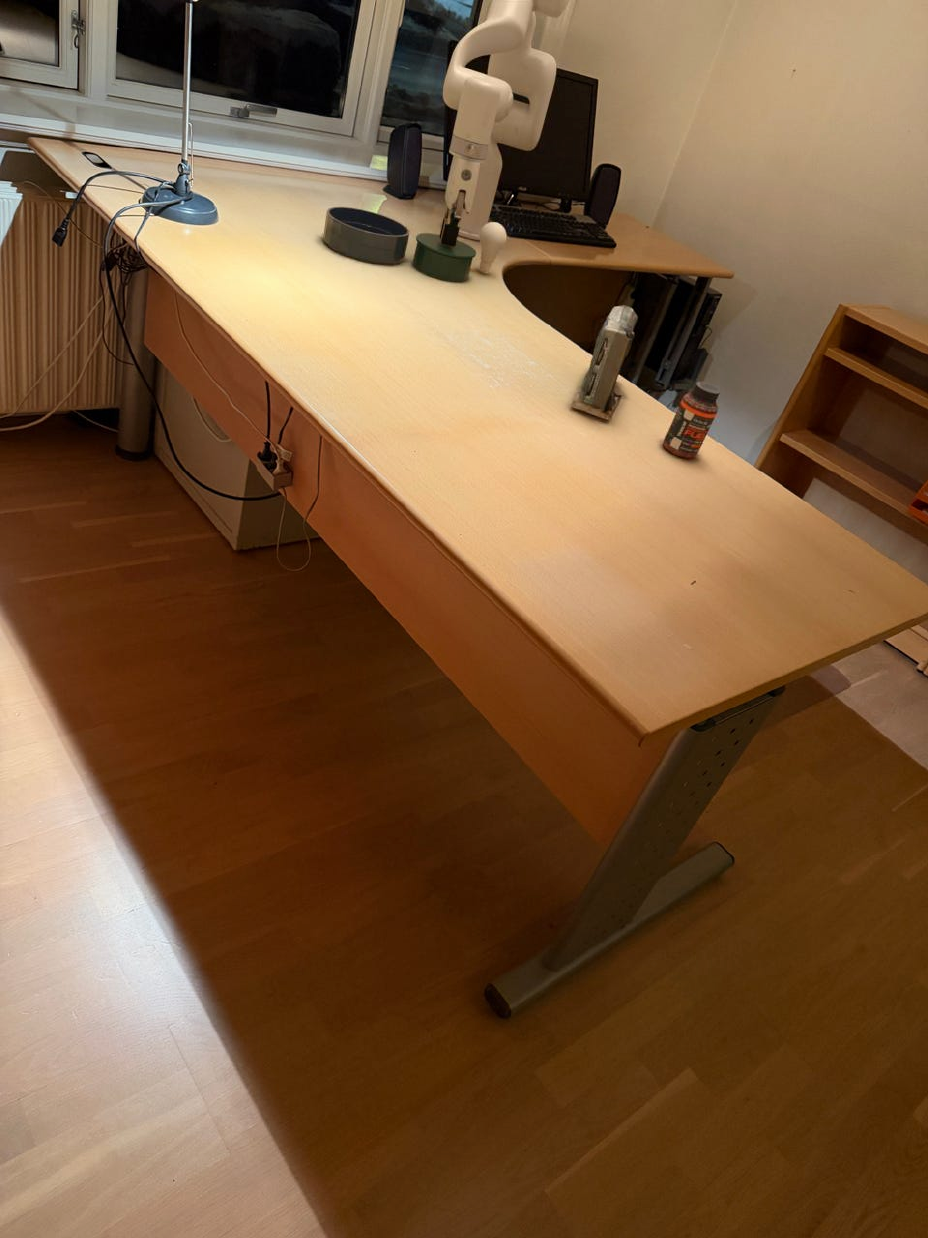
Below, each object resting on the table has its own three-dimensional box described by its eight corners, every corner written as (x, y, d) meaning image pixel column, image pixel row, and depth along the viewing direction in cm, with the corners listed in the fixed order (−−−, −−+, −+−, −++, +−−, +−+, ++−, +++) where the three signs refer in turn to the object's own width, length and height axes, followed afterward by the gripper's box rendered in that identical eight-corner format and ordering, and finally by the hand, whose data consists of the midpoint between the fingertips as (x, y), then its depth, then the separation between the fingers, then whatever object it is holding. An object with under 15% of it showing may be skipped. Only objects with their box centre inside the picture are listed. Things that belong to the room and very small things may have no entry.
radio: (592, 369, 158) (620, 291, 149) (634, 386, 157) (665, 308, 148) (558, 405, 140) (588, 318, 131) (606, 424, 138) (639, 337, 129)
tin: (410, 256, 187) (415, 233, 184) (464, 269, 190) (469, 246, 187) (414, 273, 177) (419, 249, 174) (470, 286, 180) (476, 263, 178)
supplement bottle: (675, 459, 134) (704, 394, 127) (655, 440, 138) (682, 376, 131) (703, 460, 137) (733, 396, 130) (682, 442, 141) (711, 379, 134)
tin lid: (413, 233, 185) (419, 204, 181) (471, 247, 188) (478, 219, 184) (417, 251, 174) (423, 221, 171) (478, 266, 178) (486, 236, 174)
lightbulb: (493, 279, 189) (507, 229, 183) (468, 271, 189) (481, 220, 183) (498, 273, 194) (511, 224, 188) (473, 265, 194) (486, 216, 188)
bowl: (323, 229, 186) (327, 200, 183) (401, 247, 191) (407, 220, 187) (321, 252, 172) (326, 221, 169) (406, 271, 177) (412, 242, 173)
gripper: (491, 162, 164) (468, 257, 175) (481, 145, 176) (459, 235, 187) (454, 152, 162) (433, 249, 173) (446, 136, 175) (427, 227, 186)
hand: (447, 241), depth 180 cm, fingers closed on tin lid, 3 cm apart
